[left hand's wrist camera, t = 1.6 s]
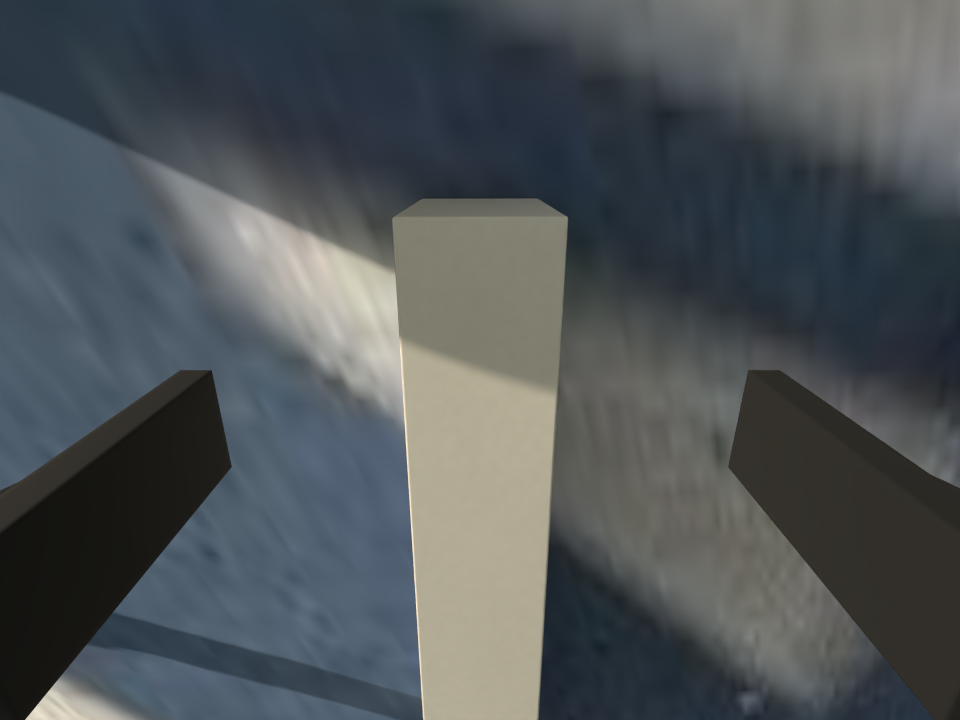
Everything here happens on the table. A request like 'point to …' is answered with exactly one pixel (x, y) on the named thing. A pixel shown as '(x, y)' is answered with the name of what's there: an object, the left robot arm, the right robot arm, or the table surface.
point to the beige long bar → (480, 442)
